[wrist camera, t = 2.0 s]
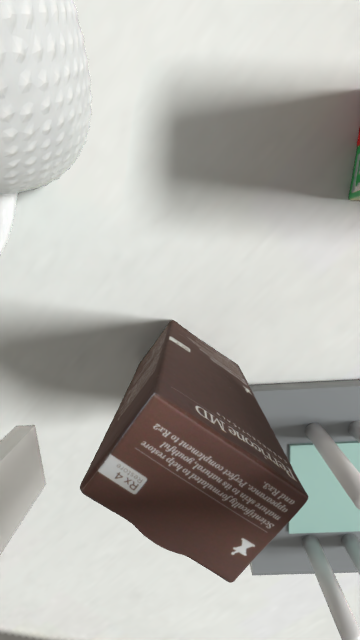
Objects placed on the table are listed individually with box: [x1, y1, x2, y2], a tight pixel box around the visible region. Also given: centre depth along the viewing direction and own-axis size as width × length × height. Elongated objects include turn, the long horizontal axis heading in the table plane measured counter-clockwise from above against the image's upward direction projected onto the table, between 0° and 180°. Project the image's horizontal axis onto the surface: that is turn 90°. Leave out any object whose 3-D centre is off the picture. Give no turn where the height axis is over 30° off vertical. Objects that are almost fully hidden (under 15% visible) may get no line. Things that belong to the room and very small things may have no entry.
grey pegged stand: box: [249, 380, 360, 640], centre depth 19 cm, size 12×16×7 cm
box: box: [80, 320, 308, 582], centre depth 14 cm, size 6×4×12 cm
